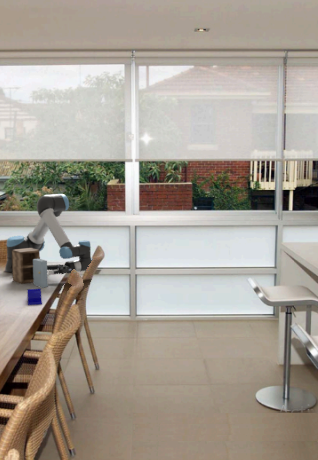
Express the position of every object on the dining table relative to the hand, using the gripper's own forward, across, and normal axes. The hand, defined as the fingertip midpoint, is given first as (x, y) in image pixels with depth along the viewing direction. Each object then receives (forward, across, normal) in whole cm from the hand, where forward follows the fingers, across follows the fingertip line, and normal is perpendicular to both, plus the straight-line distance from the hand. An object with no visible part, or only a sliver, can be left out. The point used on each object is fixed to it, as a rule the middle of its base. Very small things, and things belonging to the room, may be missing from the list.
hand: (42, 271), depth 364 cm
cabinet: (+1, +19, -9) cm, 21 cm away
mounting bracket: (+22, -30, -9) cm, 38 cm away
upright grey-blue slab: (+2, +1, -9) cm, 9 cm away
